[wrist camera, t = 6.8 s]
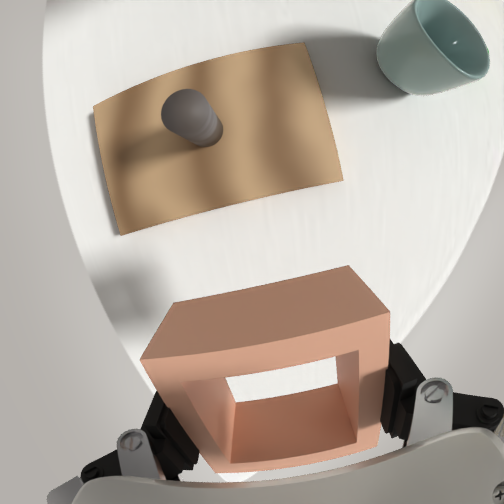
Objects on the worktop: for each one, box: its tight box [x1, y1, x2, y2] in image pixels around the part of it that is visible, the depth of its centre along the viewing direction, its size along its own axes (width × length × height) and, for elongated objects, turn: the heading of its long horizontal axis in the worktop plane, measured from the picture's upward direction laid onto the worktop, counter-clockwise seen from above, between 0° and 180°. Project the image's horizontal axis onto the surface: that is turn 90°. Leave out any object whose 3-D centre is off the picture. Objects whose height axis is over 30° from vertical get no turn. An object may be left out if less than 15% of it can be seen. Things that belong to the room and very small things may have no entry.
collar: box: [140, 265, 390, 473], centre depth 10 cm, size 7×7×4 cm
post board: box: [93, 43, 344, 236], centre depth 18 cm, size 20×13×8 cm, turn 104°
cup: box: [376, 0, 490, 96], centre depth 14 cm, size 8×8×10 cm
